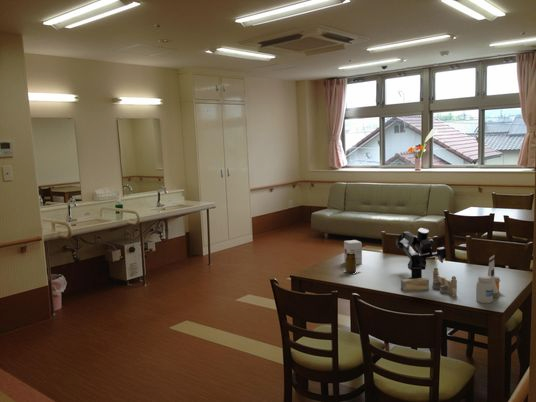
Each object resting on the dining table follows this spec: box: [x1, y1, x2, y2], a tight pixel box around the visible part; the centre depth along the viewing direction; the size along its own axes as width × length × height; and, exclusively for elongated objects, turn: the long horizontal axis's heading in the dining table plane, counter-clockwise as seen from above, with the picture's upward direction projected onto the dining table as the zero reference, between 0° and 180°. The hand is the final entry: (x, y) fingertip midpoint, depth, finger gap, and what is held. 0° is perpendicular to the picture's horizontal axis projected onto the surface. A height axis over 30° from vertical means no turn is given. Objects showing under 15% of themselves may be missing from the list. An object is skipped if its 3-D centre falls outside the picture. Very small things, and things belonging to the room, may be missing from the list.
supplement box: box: [343, 239, 363, 265], centre depth 309 cm, size 9×9×15 cm
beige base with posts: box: [432, 267, 458, 297], centre depth 247 cm, size 20×5×10 cm, turn 9°
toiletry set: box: [475, 254, 501, 304], centre depth 234 cm, size 25×8×21 cm, turn 140°
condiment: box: [345, 252, 357, 275], centre depth 287 cm, size 7×8×12 cm
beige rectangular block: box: [400, 277, 430, 292], centre depth 251 cm, size 4×14×5 cm, turn 99°
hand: (433, 264), depth 242 cm, fingers open, 9 cm apart
